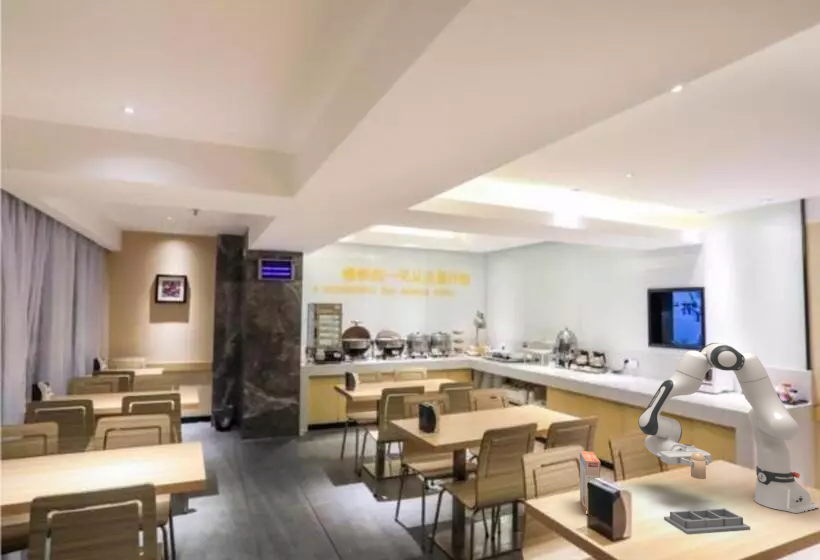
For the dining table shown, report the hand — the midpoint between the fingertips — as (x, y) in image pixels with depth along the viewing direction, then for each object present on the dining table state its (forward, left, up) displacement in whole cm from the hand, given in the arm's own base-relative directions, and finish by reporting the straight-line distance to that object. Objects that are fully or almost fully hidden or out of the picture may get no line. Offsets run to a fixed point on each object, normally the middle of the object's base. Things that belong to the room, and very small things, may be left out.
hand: (699, 463), depth 189 cm
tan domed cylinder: (0, -1, -5) cm, 6 cm away
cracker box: (+43, -9, -19) cm, 47 cm away
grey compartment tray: (+7, +10, -19) cm, 22 cm away
